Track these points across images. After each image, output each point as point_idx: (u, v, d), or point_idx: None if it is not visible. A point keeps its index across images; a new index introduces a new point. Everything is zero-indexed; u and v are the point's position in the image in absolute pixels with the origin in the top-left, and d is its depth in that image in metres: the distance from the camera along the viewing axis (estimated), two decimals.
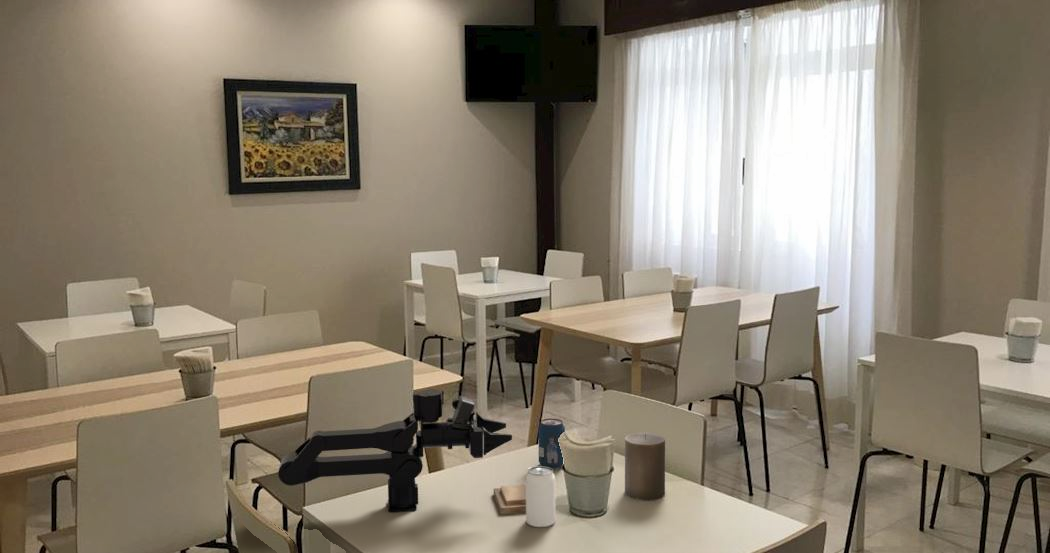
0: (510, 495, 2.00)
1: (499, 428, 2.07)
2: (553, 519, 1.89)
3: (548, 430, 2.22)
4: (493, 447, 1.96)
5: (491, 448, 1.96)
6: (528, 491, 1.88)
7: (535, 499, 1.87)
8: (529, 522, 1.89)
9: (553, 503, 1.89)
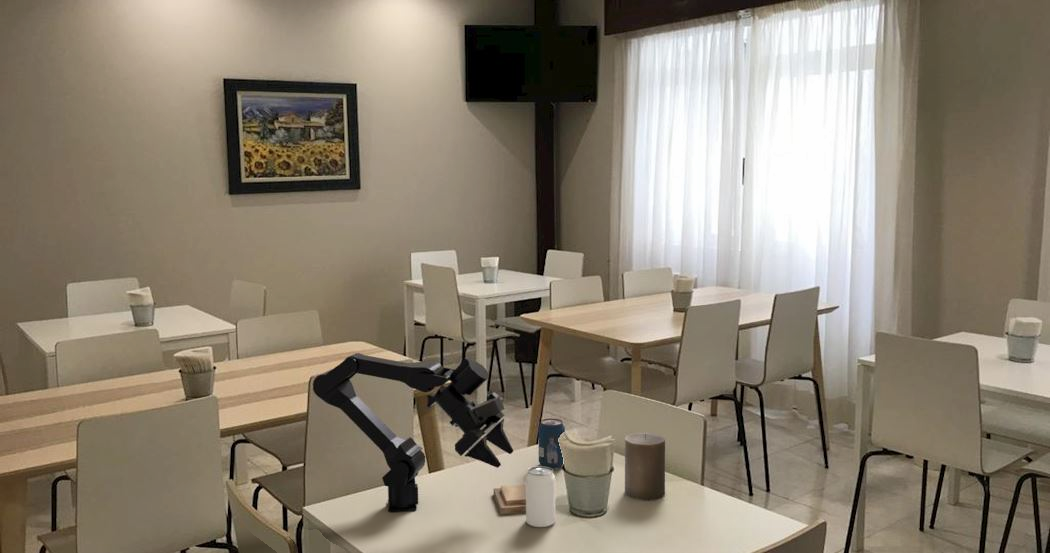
0: (510, 495, 2.00)
1: (505, 449, 1.96)
2: (553, 519, 1.89)
3: (548, 430, 2.22)
4: (477, 458, 1.87)
5: (475, 457, 1.87)
6: (528, 491, 1.88)
7: (535, 499, 1.87)
8: (529, 522, 1.89)
9: (553, 503, 1.89)
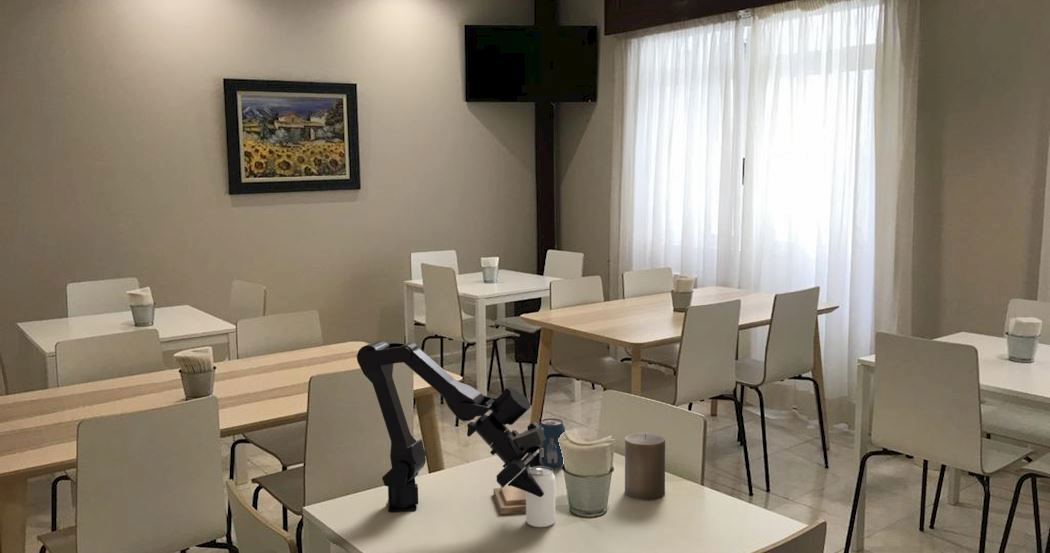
0: (510, 495, 2.00)
1: None
2: (553, 519, 1.89)
3: (548, 430, 2.22)
4: (521, 487, 1.86)
5: (518, 486, 1.86)
6: None
7: (535, 499, 1.87)
8: (529, 522, 1.89)
9: (553, 503, 1.89)
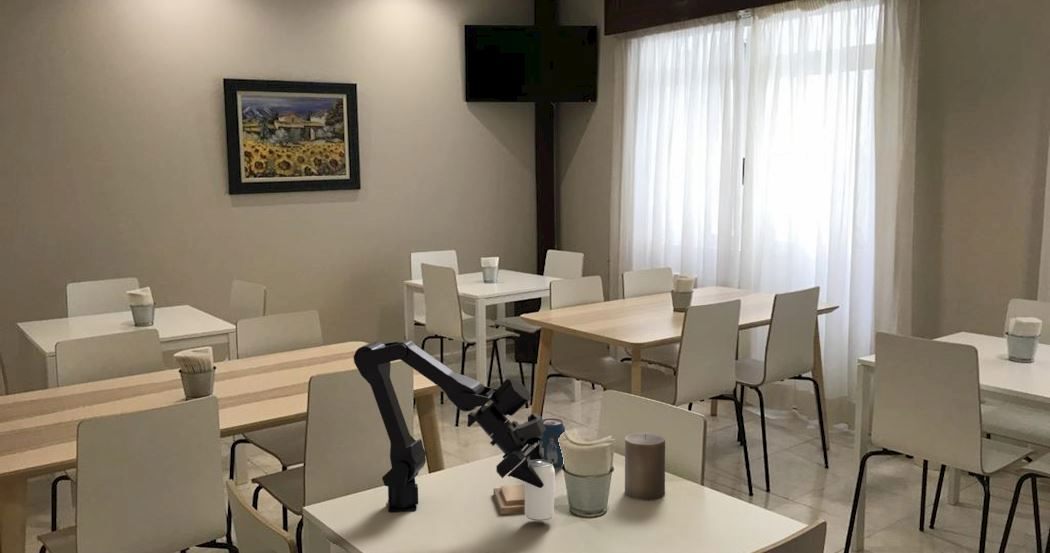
0: (510, 495, 2.00)
1: None
2: (552, 512, 1.89)
3: (548, 430, 2.22)
4: (520, 478, 1.86)
5: (518, 477, 1.86)
6: (527, 483, 1.88)
7: (534, 491, 1.87)
8: (528, 515, 1.88)
9: (552, 496, 1.88)
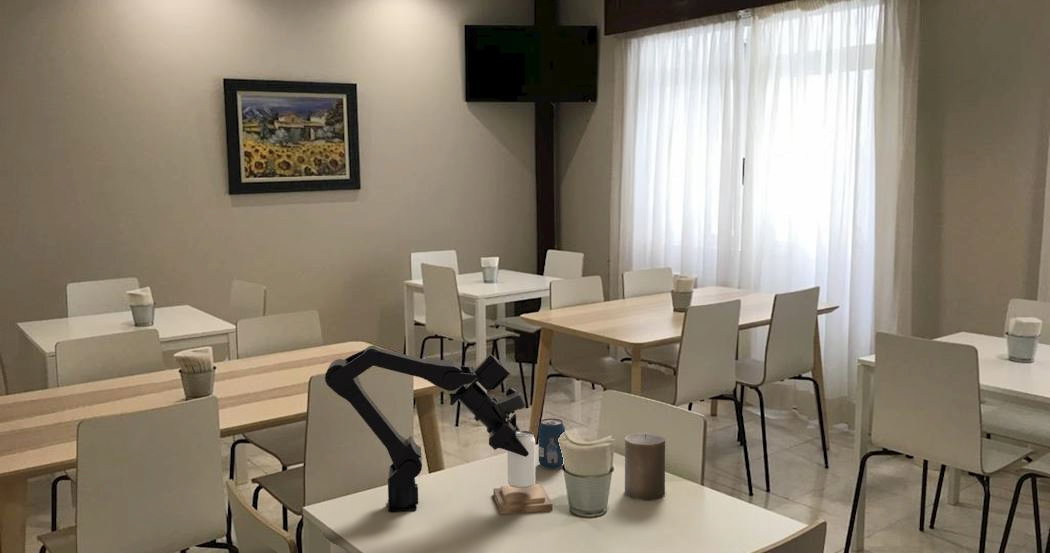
0: (510, 495, 2.00)
1: None
2: (534, 479, 2.00)
3: (548, 429, 2.22)
4: (508, 448, 1.96)
5: (506, 448, 1.95)
6: (512, 453, 1.98)
7: (520, 460, 1.97)
8: (513, 483, 1.98)
9: (534, 463, 2.00)
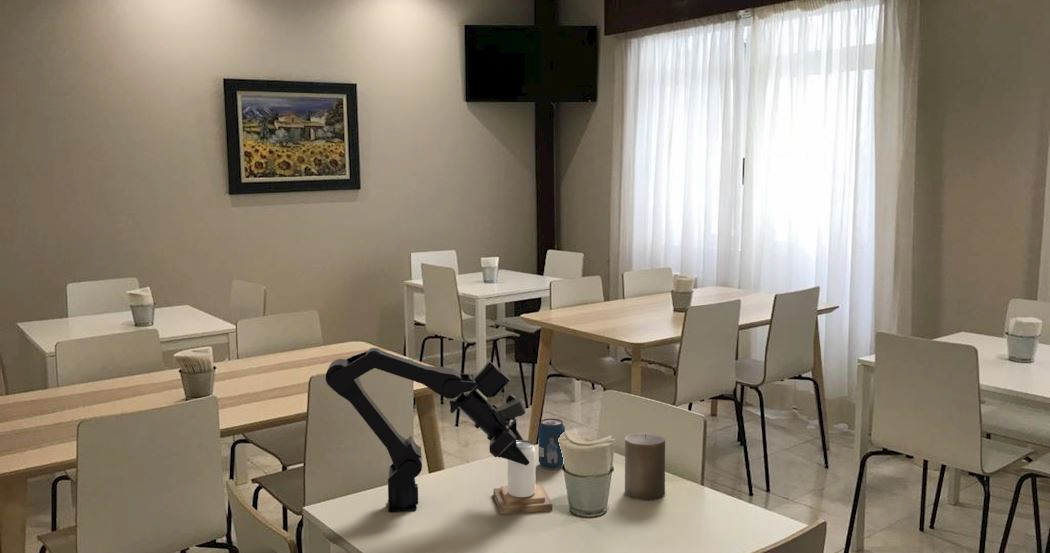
0: (510, 495, 2.00)
1: None
2: (534, 488, 2.00)
3: (548, 430, 2.22)
4: (508, 457, 1.95)
5: (506, 457, 1.94)
6: (512, 464, 1.98)
7: (520, 471, 1.97)
8: (513, 494, 1.99)
9: None
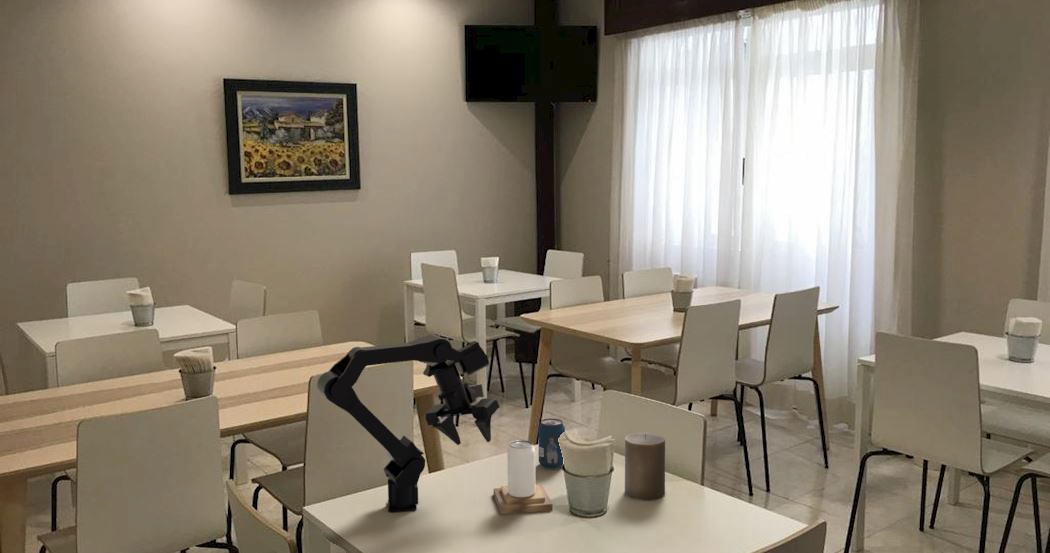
0: (510, 495, 2.00)
1: (456, 439, 2.07)
2: (534, 488, 2.00)
3: (548, 430, 2.22)
4: (484, 427, 2.00)
5: (483, 426, 2.00)
6: (512, 464, 1.98)
7: (520, 471, 1.97)
8: (513, 494, 1.99)
9: (534, 473, 2.00)
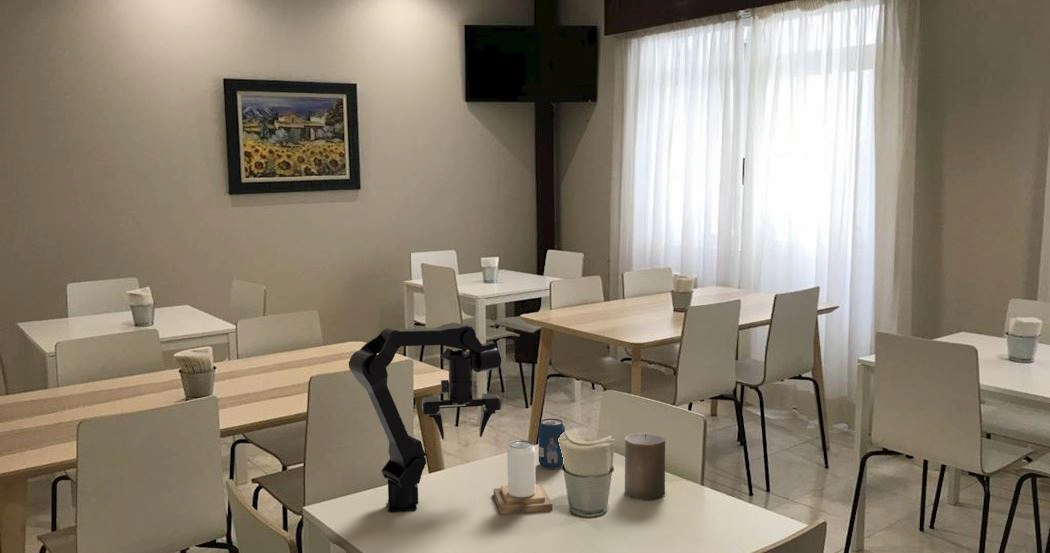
0: (510, 495, 2.00)
1: (443, 433, 2.08)
2: (534, 488, 2.00)
3: (548, 430, 2.22)
4: None
5: None
6: (512, 464, 1.98)
7: (520, 471, 1.97)
8: (513, 494, 1.99)
9: (534, 473, 2.00)
